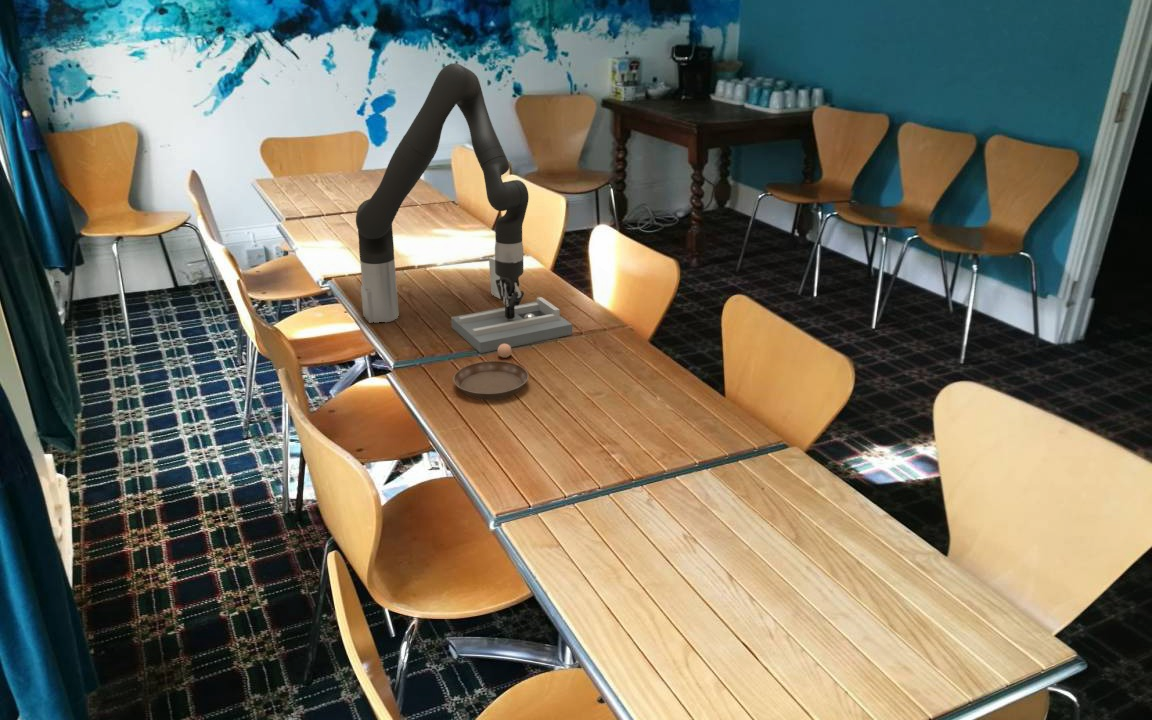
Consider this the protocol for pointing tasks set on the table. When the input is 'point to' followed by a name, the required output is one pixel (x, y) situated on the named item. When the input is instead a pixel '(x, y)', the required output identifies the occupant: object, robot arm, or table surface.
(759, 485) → the table surface
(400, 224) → the table surface
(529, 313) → the steel ball
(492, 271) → the skincare box
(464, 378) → the plant saucer
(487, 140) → the robot arm
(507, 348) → the terracotta ball
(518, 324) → the slate board
